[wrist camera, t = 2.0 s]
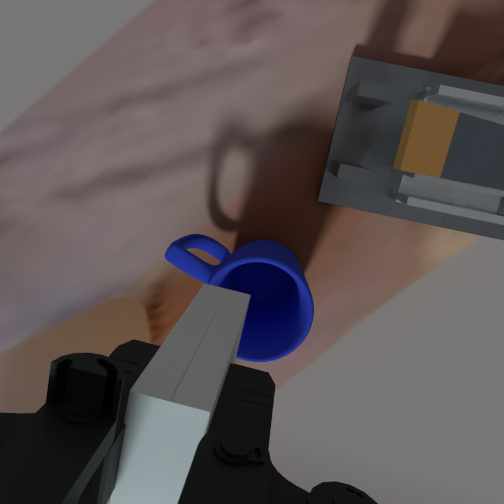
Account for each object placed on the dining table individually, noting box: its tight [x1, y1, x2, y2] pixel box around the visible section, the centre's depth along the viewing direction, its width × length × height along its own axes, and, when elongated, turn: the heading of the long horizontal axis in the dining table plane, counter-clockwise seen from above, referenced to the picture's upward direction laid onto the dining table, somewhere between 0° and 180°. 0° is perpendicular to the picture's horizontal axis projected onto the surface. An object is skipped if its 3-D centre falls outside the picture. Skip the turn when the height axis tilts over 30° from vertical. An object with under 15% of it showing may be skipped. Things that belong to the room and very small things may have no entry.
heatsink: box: [317, 56, 504, 240], centre depth 35 cm, size 20×12×9 cm, turn 79°
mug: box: [165, 234, 314, 362], centre depth 39 cm, size 8×12×10 cm
